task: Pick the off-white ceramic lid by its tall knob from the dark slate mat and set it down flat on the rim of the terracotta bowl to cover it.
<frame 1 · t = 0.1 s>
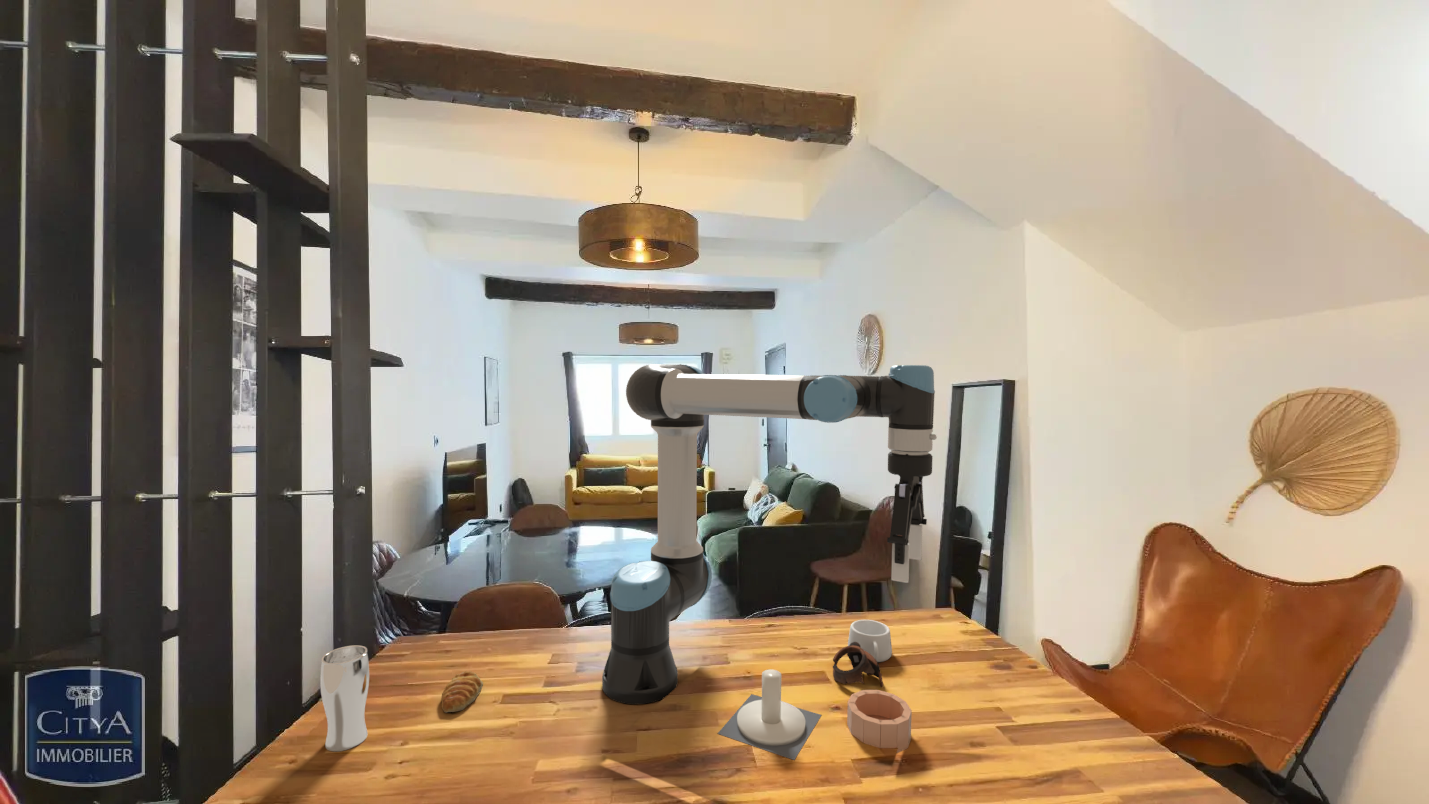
hand: (907, 569, 104), 28 cm above the table, fingers open, 13 cm apart
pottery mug: (857, 681, 119), on the table
lid: (771, 724, 102), point 1 cm above the table, touching mat
mug: (870, 656, 129), on the table
beer glass: (346, 741, 98), on the table
pastry: (462, 700, 111), on the table
bowl: (878, 734, 101), on the table
mat: (770, 729, 102), on the table
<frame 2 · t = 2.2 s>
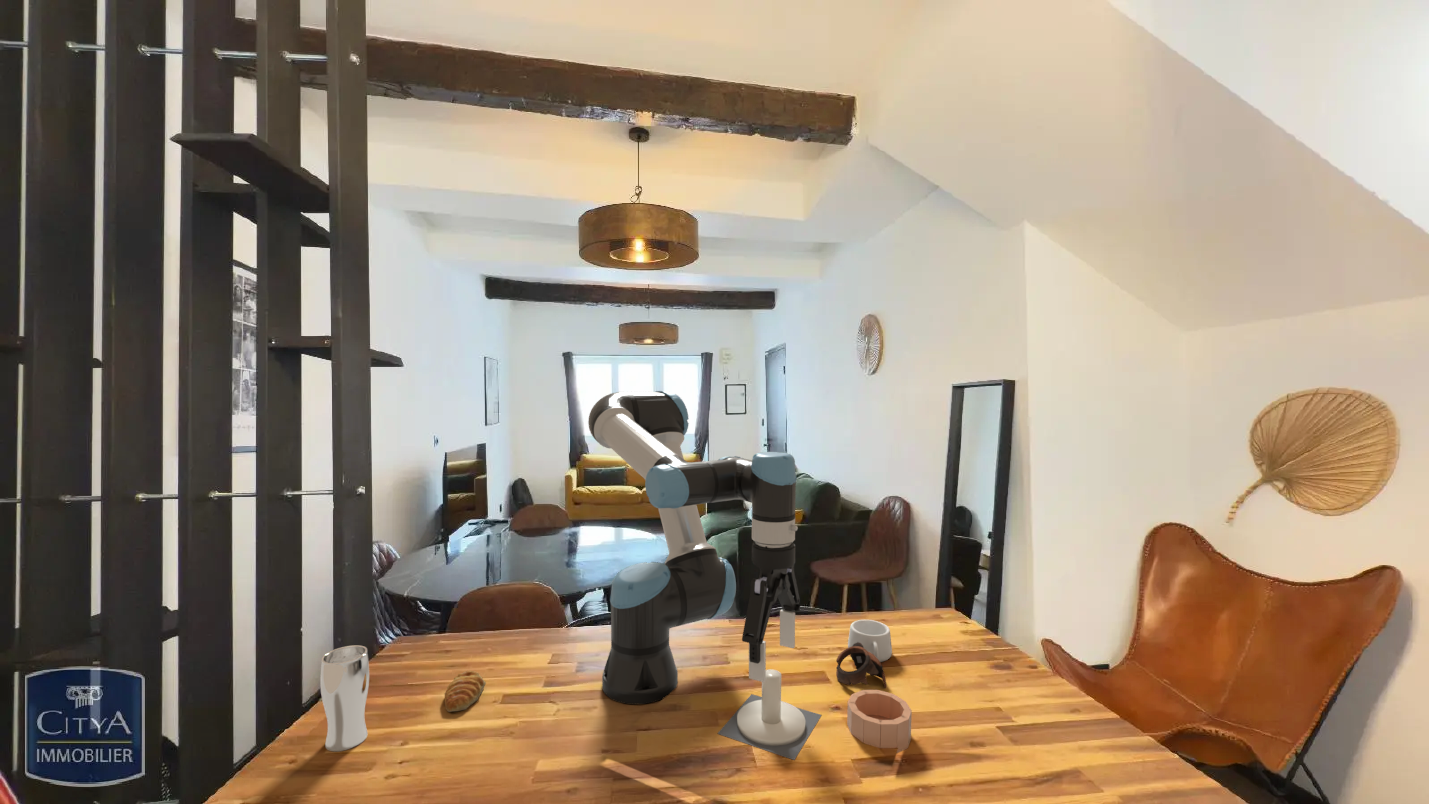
hand: (773, 662, 101), 12 cm above the table, fingers open, 13 cm apart
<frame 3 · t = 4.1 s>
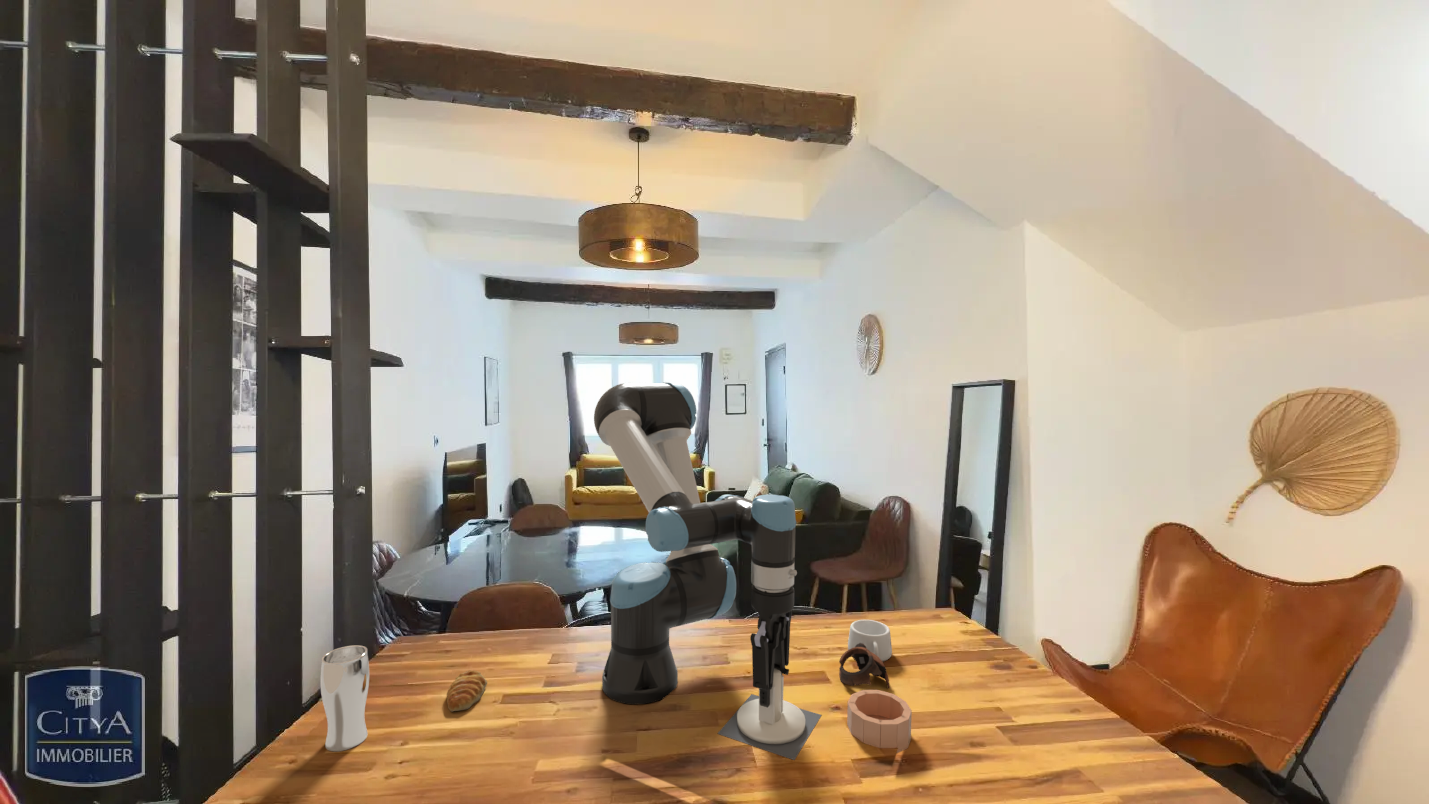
hand: (771, 715, 102), 3 cm above the table, fingers closed on lid, 3 cm apart
lid: (770, 722, 102), point 1 cm above the table, touching gripper
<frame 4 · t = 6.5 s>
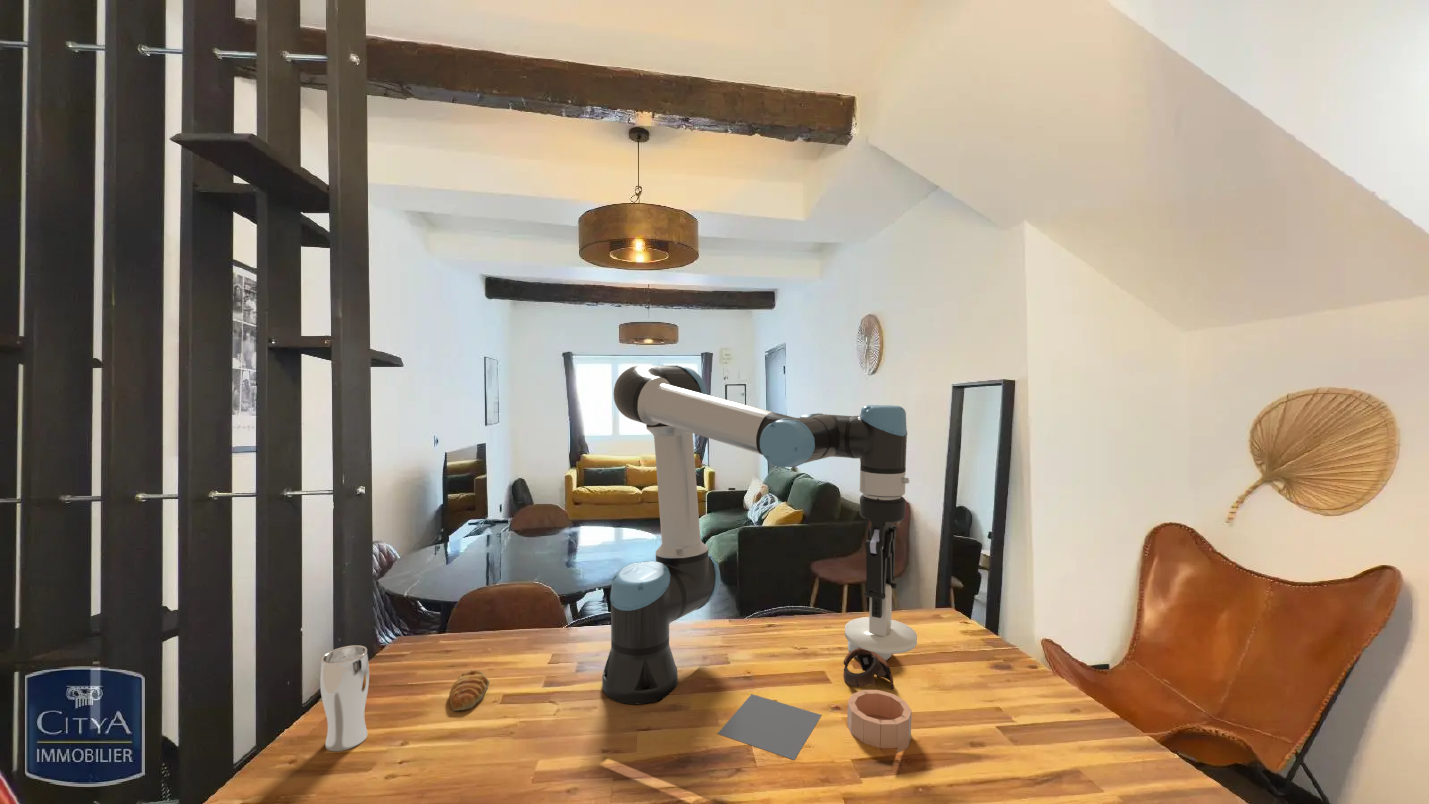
hand: (880, 629, 100), 19 cm above the table, fingers closed on lid, 3 cm apart
lid: (880, 637, 100), point 17 cm above the table, touching gripper
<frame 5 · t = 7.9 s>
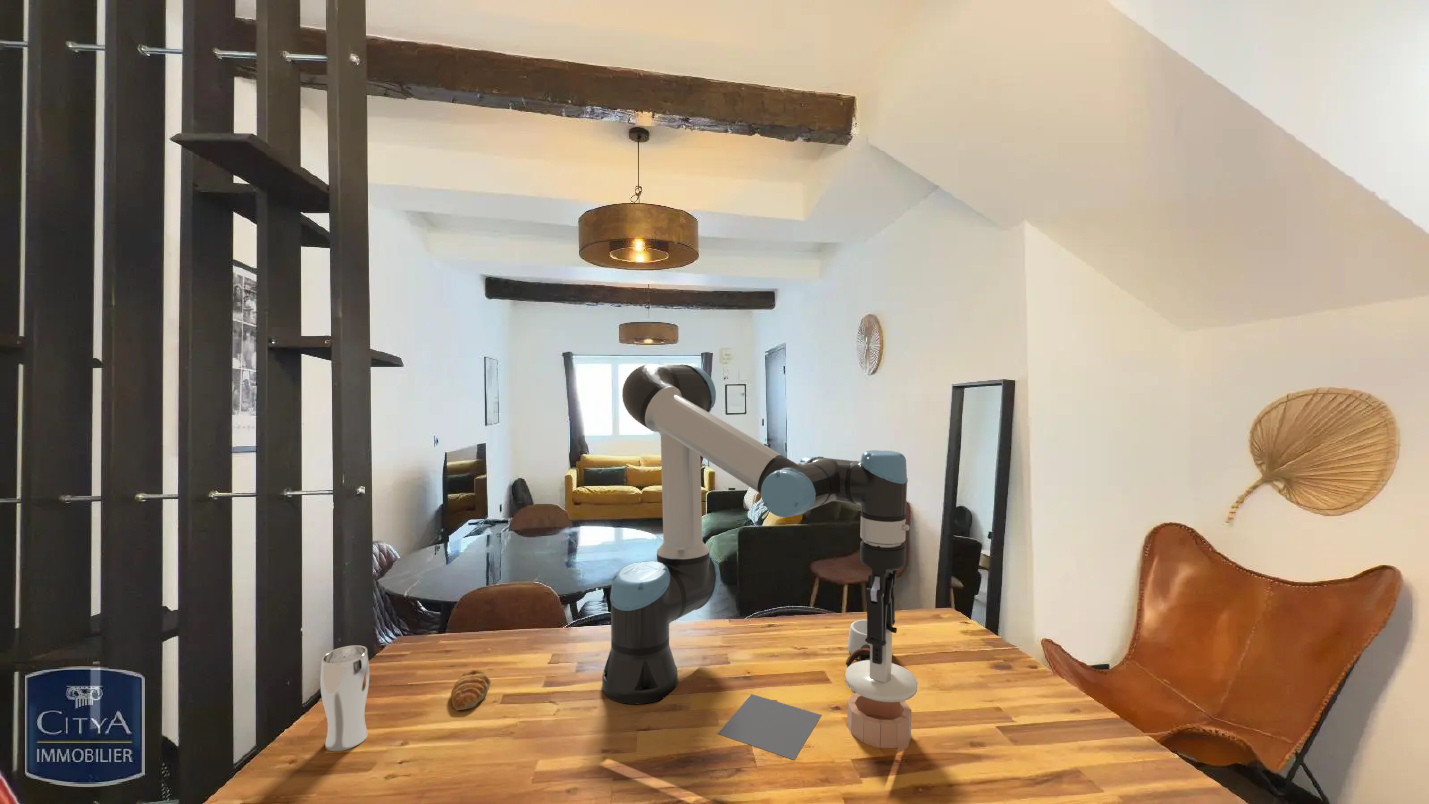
hand: (880, 674, 100), 11 cm above the table, fingers closed on lid, 3 cm apart
lid: (880, 682, 100), point 9 cm above the table, touching gripper
when the fingers open (7 cm above the table, at t = 9.2 s): lid stays where it is, resting on bowl.
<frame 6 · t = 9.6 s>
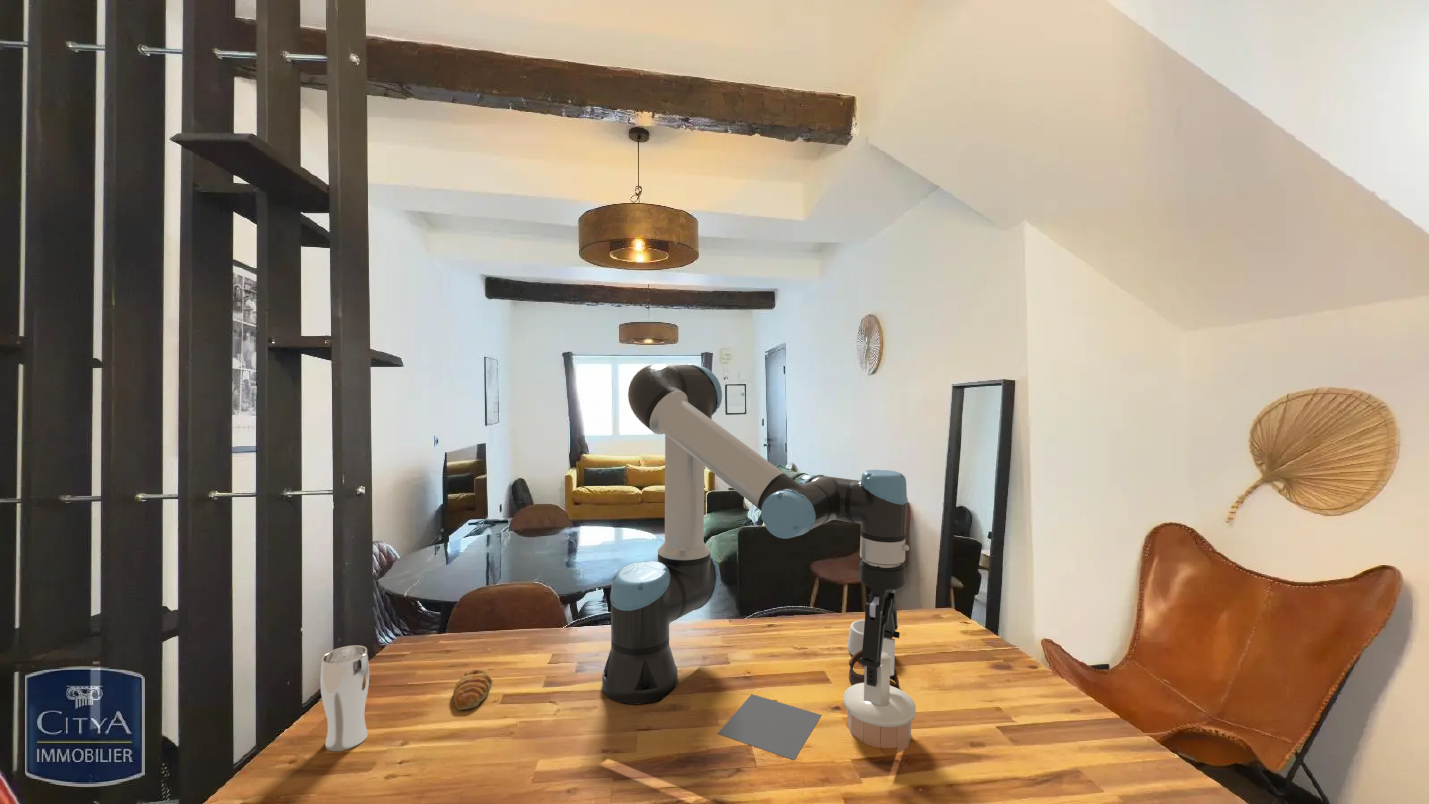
hand: (879, 686, 100), 8 cm above the table, fingers open, 10 cm apart
lid: (879, 706, 101), point 5 cm above the table, touching bowl
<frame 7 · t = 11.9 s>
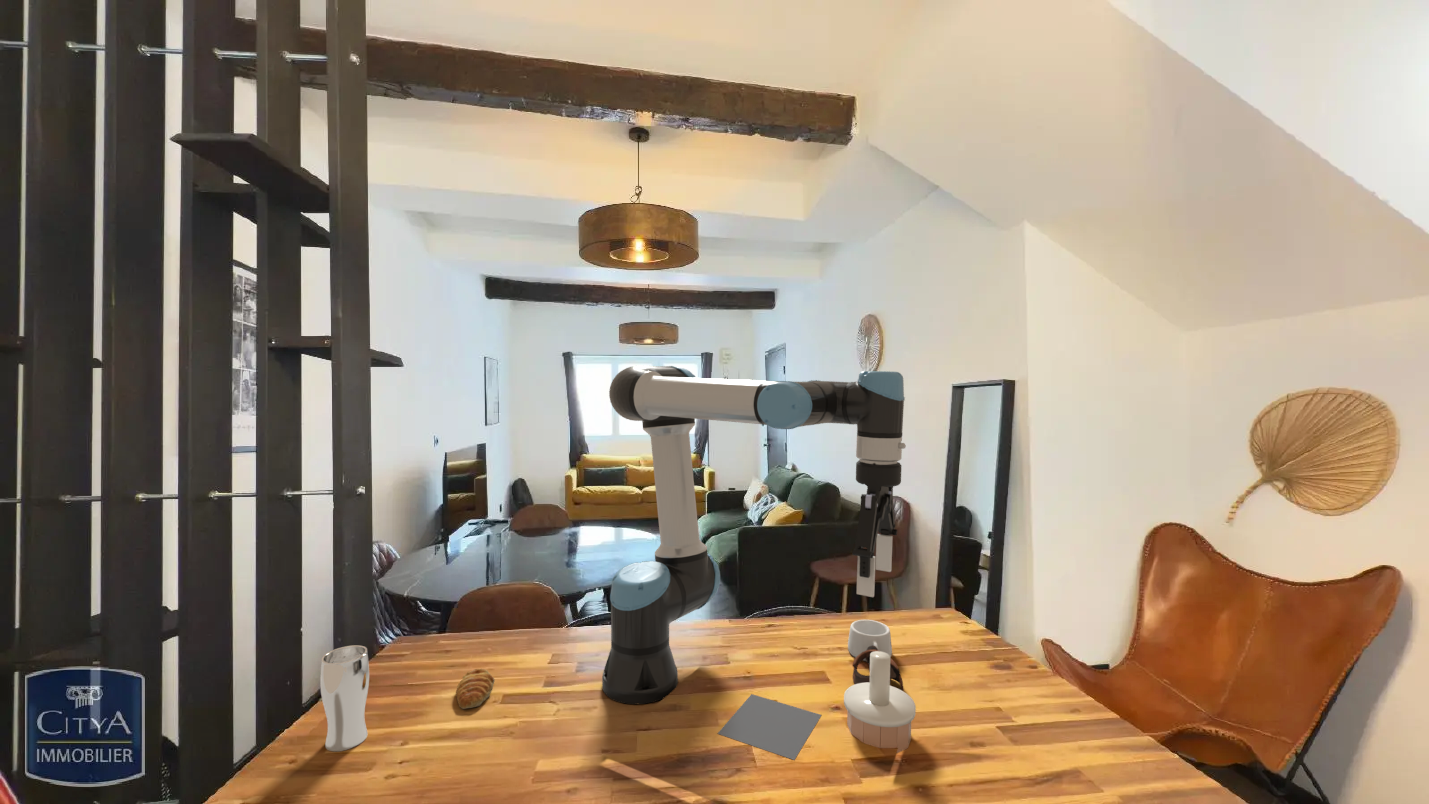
hand: (874, 582, 100), 27 cm above the table, fingers open, 13 cm apart
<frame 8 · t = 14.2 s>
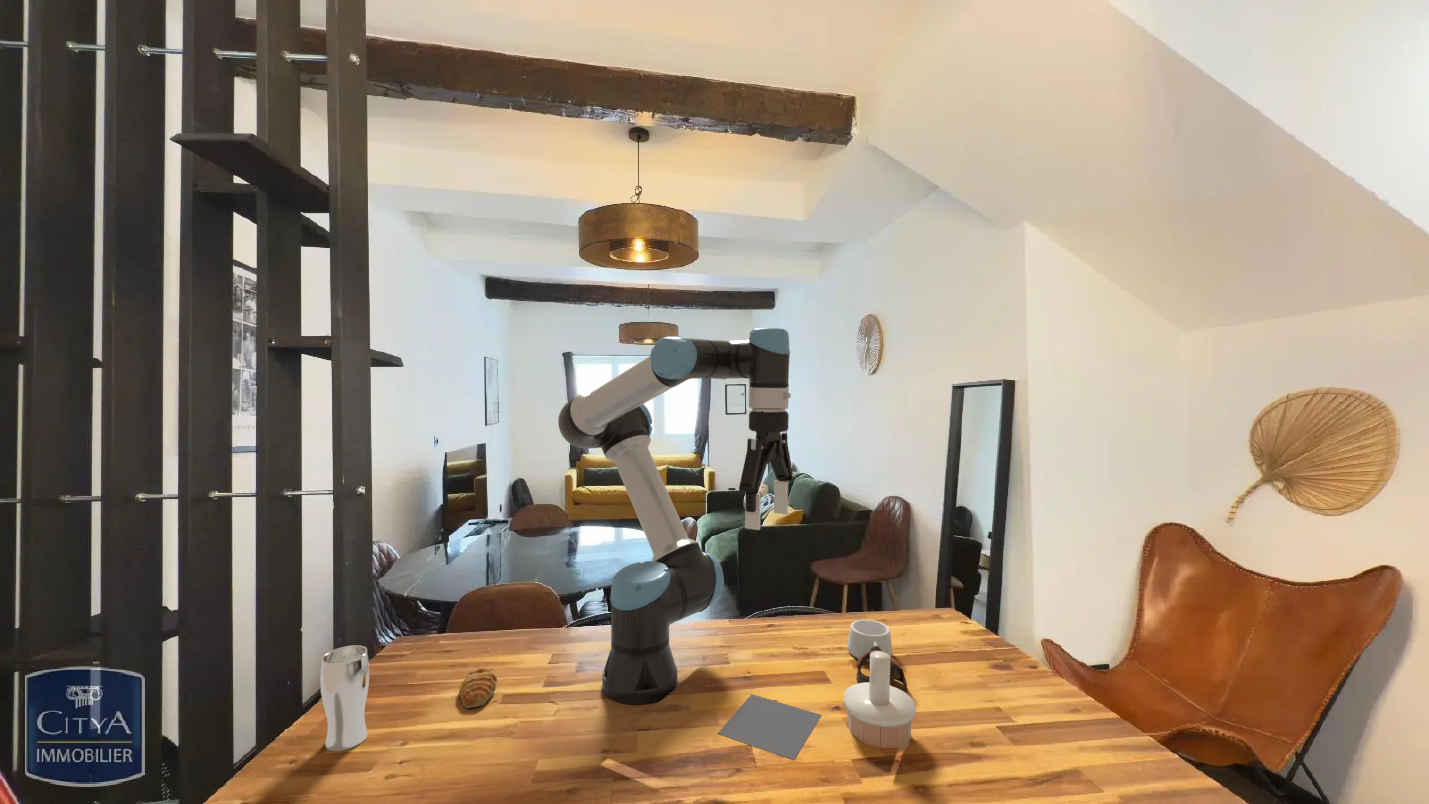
hand: (767, 520, 111), 35 cm above the table, fingers open, 13 cm apart
at the end: lid inside the target area on the bowl (0.0 cm from its centre), point 5.0 cm above the bowl's base; lid tilted 0°; the gripper is holding nothing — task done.
